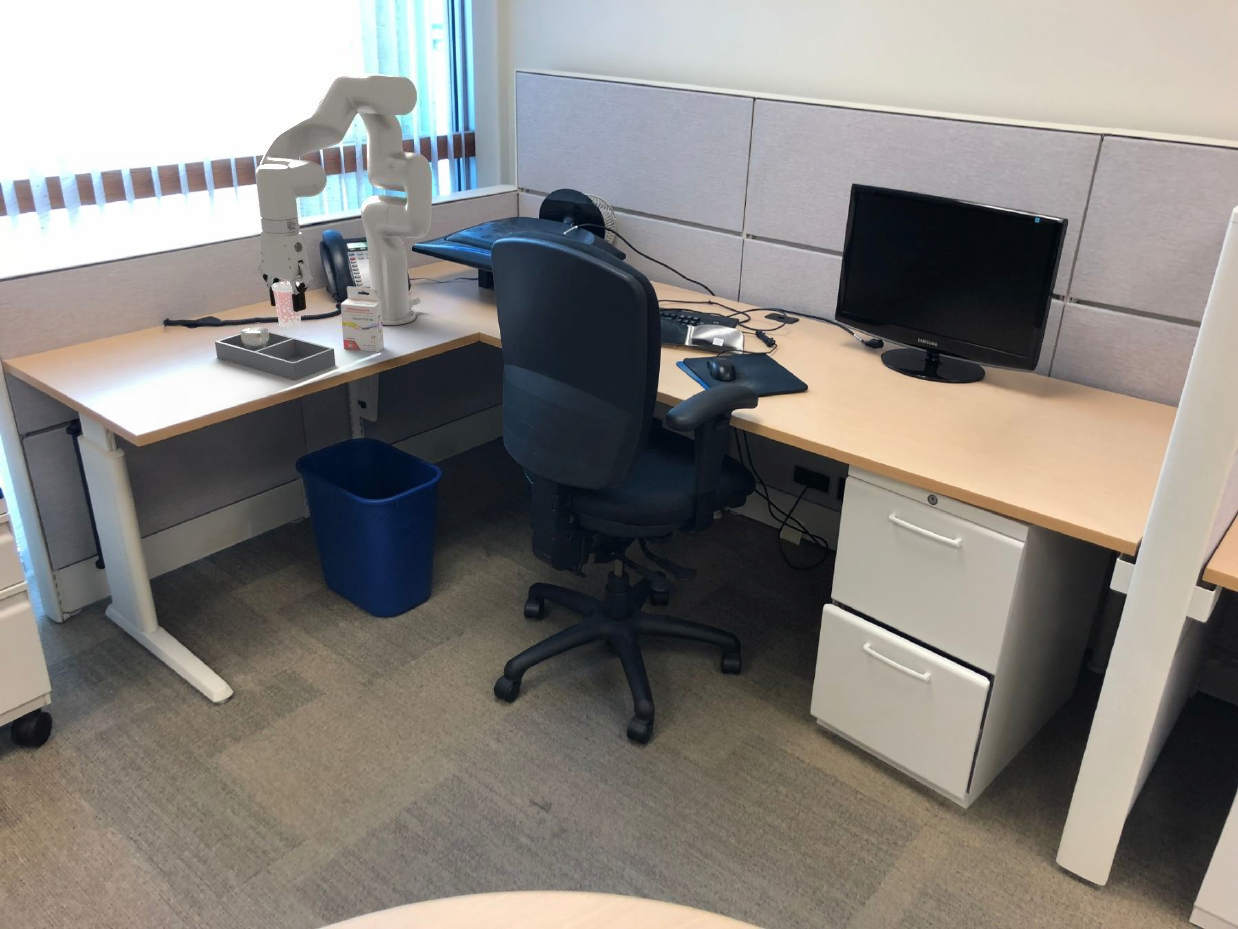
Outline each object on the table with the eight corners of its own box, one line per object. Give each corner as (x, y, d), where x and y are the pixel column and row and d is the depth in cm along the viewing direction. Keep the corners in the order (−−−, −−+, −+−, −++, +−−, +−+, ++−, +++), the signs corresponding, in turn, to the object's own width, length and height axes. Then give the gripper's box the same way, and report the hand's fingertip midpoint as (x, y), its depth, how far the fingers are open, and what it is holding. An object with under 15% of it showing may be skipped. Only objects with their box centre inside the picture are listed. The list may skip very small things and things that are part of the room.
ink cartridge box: (343, 351, 237) (338, 291, 231) (350, 344, 242) (345, 285, 235) (378, 354, 237) (374, 293, 230) (384, 347, 241) (381, 287, 235)
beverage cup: (310, 324, 222) (304, 261, 216) (289, 330, 217) (282, 267, 211) (291, 318, 224) (284, 257, 218) (269, 325, 220) (262, 262, 214)
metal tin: (258, 349, 234) (255, 325, 231) (276, 355, 231) (274, 330, 229) (238, 356, 229) (234, 331, 227) (256, 362, 227) (253, 337, 224)
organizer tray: (259, 346, 238) (256, 327, 236) (335, 367, 228) (334, 348, 226) (217, 360, 229) (214, 341, 227) (295, 383, 218) (293, 363, 216)
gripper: (323, 228, 211) (330, 310, 218) (264, 216, 218) (273, 297, 226) (296, 234, 205) (304, 319, 212) (237, 222, 212) (247, 304, 220)
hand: (288, 306), depth 219 cm, fingers closed on beverage cup, 6 cm apart
